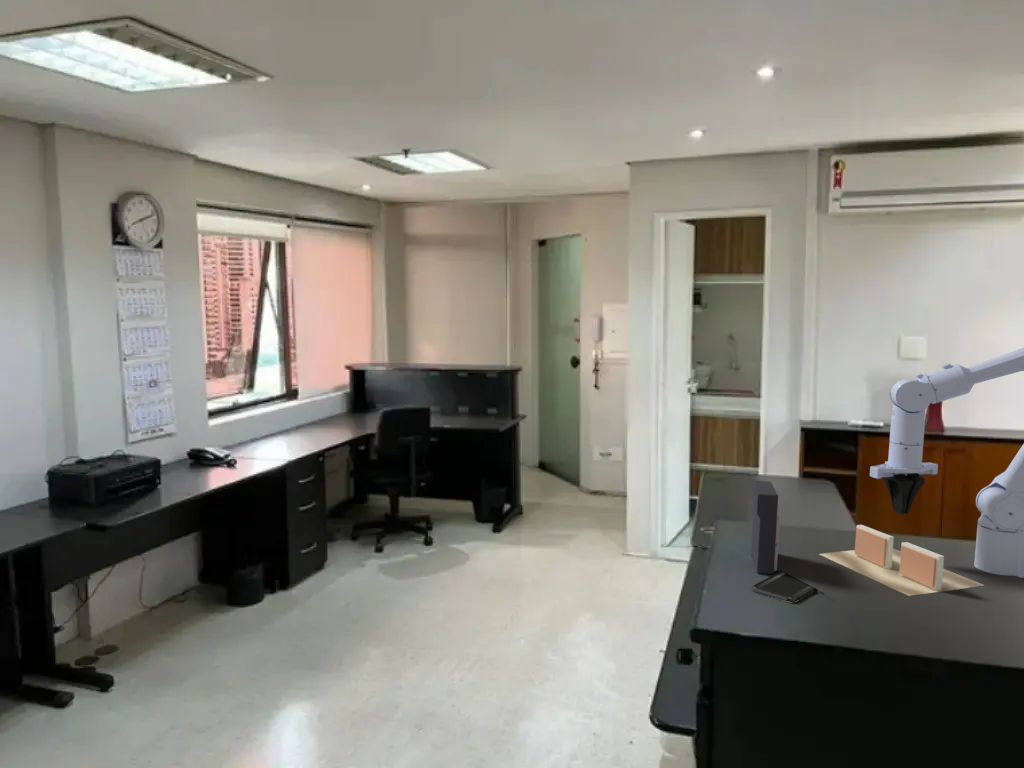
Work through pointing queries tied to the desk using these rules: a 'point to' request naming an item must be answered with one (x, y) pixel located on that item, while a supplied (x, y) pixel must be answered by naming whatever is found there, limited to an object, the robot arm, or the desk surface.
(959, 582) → the board
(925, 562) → the tile
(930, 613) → the desk surface
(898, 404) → the robot arm
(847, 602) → the desk surface
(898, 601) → the desk surface
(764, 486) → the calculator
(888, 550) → the tile
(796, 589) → the phone
